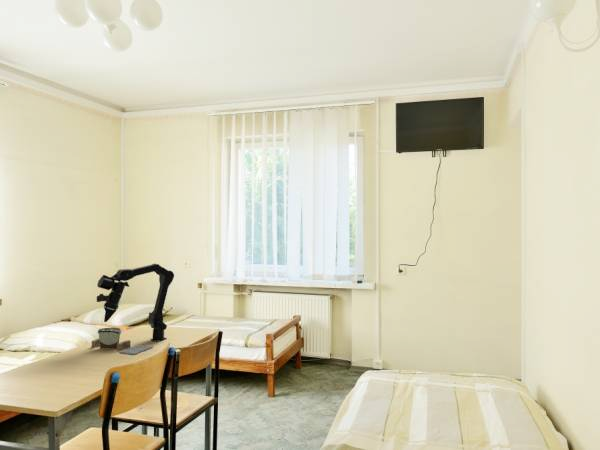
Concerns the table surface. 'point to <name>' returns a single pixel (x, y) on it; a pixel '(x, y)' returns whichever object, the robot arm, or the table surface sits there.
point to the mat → (136, 349)
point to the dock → (119, 346)
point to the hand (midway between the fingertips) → (105, 321)
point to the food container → (109, 338)
